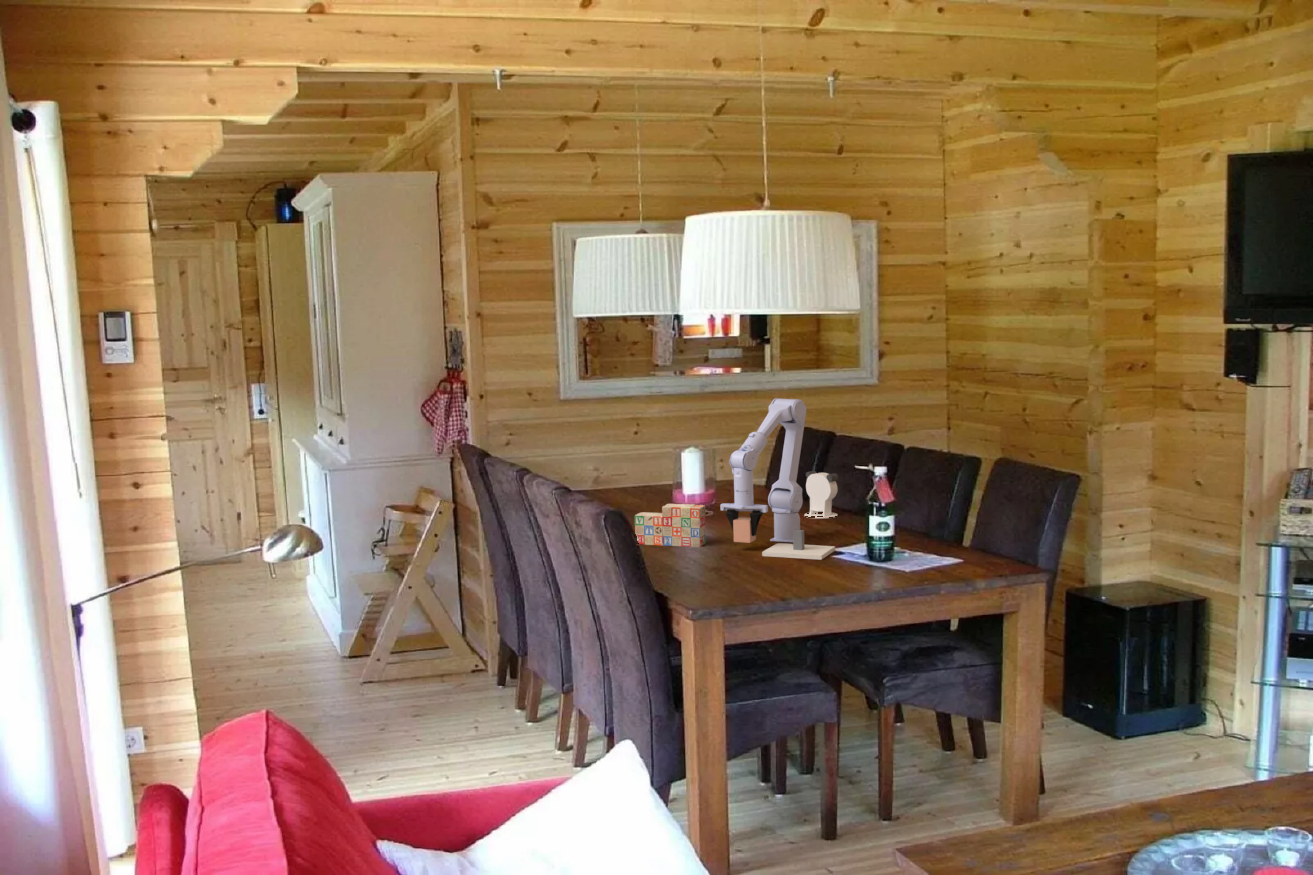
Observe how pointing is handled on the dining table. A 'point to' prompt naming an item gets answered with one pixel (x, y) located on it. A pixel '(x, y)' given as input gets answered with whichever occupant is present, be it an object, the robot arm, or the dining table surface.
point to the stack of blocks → (672, 526)
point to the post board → (798, 549)
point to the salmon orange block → (742, 530)
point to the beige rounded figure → (821, 493)
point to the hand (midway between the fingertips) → (744, 535)
